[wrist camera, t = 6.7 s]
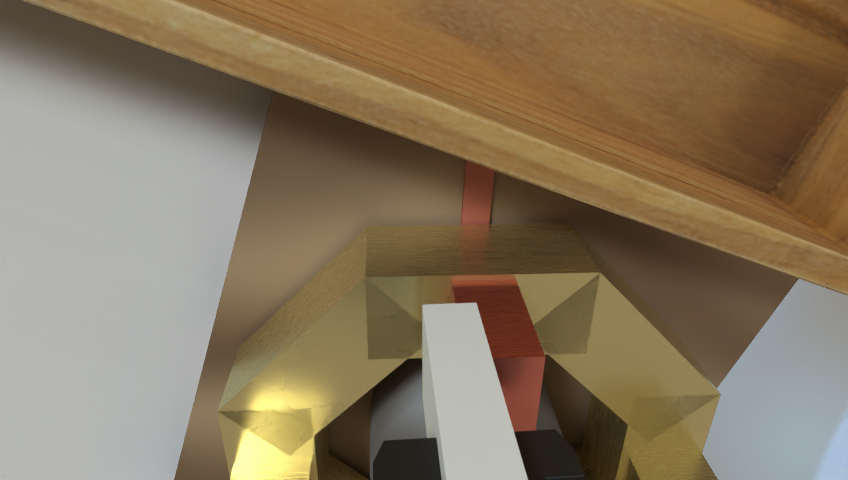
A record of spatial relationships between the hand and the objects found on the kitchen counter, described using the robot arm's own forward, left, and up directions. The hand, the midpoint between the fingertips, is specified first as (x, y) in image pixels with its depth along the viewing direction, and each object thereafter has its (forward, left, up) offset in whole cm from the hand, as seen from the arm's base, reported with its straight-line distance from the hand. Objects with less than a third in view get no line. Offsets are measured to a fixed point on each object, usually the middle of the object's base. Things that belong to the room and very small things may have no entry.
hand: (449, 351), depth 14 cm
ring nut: (-5, -3, -4) cm, 7 cm away
